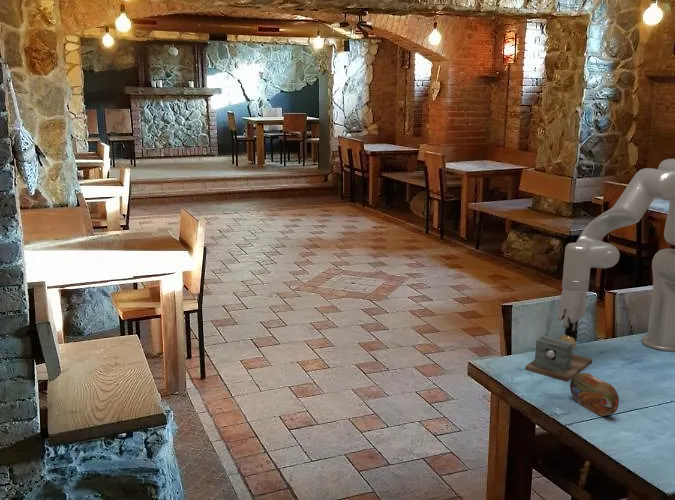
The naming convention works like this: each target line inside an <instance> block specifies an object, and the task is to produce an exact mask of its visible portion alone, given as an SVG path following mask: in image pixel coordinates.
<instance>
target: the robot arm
mask: <svg viewBox="0 0 675 500" xmlns="http://www.w3.org/2000/svg"><path fill="white" fill-rule="evenodd" d="M655 199H659V200H663V201H669V206H668V210H667V216H666V220H665V225H664V231H663V237H664V240H665V241H666V242H667V243H668V244H670V245H673V246H675V158H668V159H664V160H661V162H660V163H659V165H658V167H657V168H653V167H652V168H651V167H649V168H647V167H645V168H641V169H639V170H638V171H637V172H636V173H635V174H634V175H633V177H632V178H631V180H630V182H629V183H628V184H627V186H626V188H625V189H624V191H623V192H622V194H621V195H620V196H619V198H618V199H617V201H616V202H615V204H614V205H613V206H612V207H611V208H610V209H608V210H606V211H604V212H602V213H601V214H600V215H597V217H595V218H593V220H591V221H590V222H589V223H588V224H587V225H586V226H585V228H584V229H583V230H582V232H581V233H580V235H579V236H578V238H577V240H576V242H569V243H568V244H566V245H565V249H564V260H563V270H562V271H563V273H562V284H561V288H562V291H561V295H560V299H559V304H558V305H559V306H558V314H557V320H558V321H560V322H561V321H563V323H562V327H564V329H565V330H564V335H570V336H572V337H573V338H574V339H575V341H576V342H577V340H578V329H579V324H580V320H581V319H582V318H584V317H585V315H586V312H587V311H586V308H587V292H588V291H589V287H590V276H591V268H593V269H594V268H595V269H609V268H613V267H614V266H615V265H617V264H618V262H619V260H620V256H621V254H620V251H619V249H618V248H617V247H616V246H615V245H613V244H611V243H609V242H604V241H602V240H603V238H604V237H605V236H607V234H609V233H610V232H612V231H614V230H617V229H620V228H623V227H624V228H625V227H628V226H632V225H635V224H637V223H639V222H640V221H641V219H642V217H643V216H644V214H645V213H646V211H647V210H648V209H649V207H650V206H651V204H652V203H653V202H654V201H655ZM651 271H652V279H653V280H652V291H651V292H652V294H651V299H650V310H649V317H648V324H647V325H648V327H647V328H648V329H647V334H644V335H643V336H642V337H641V343H642V344H643V345H645V346H646V347H649V348H652V349H654V350H659V351H665V352H675V248H663V249H659V251H657V252H656V253H655V254H654V256H653V258H652V260H651Z"/></svg>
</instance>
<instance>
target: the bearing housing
mask: <svg viewBox="0 0 675 500" xmlns="http://www.w3.org/2000/svg"><path fill="white" fill-rule="evenodd" d="M573 345H574V343H571V342H567V341H563V340H559V338H555V337H551V336H547V335H542V336H541V337H539V338H538V339H536V341H535V351H534V353H535V354H534V359H533V360H532V361H531V362H529V363H528V364H527V363H526V365H525V367H524V368H525V371H529V372H532V373H535V374H539V375H543V376H546V377H549V378H552V379H556V380H560V381H563V382H566V383H568V382H569V381H571V379H572V377H573V376H574V375H575V374H577V373H582V372H583V371H584V370H585V369H586V368H587V367H588V365H589V364H590V363H591V364H593V359H592V358H589V357H587V356H582V355H579V354H574V349H573ZM550 349H552V350H556V356H555V357H553V358H552V359H548V358H547V357H546V355H545V354H546V352H547V351H548V350H550ZM591 364H590V365H591ZM590 365H589V366H590ZM584 368H585V369H584Z"/></svg>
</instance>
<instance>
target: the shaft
mask: <svg viewBox="0 0 675 500" xmlns="http://www.w3.org/2000/svg"><path fill="white" fill-rule="evenodd" d="M558 339H559V340H563V341H567V342H571V343H574V345H573V350H574V349H575V348H576V346H577V343H576V342H577V341H575V339H574V338H573V337H572V336H570V335H565V334H563V335H561V336H560V337H559V338H558ZM545 355H546V357H547V358H548V359H552V358H553V357H555V356H556V350H552V349H550V350H548V351H547V352H546V354H545Z"/></svg>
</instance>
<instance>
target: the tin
mask: <svg viewBox="0 0 675 500" xmlns="http://www.w3.org/2000/svg"><path fill="white" fill-rule="evenodd" d="M569 381H570V382H569V389H570V393H571V396H572V397H573V399H574V401H575V402H576V403H577V404H579V405H580V406H582V407H584V408H586V409H587V410H589V411H591V412H593V413H594V414H596V415H598V416H601V417H607V416H612V415H613V414H615V413H616V412H617V411H618V408H619V401H620V398H619V397H620V396H619V393H618V391H617V390H616V389H615V387H614V386H613V385H612V384H611V383H608V382H606V381H605V380H603V379H600V378H598V376H597V377H596V376H595V375H593V374H590V373H587V372H580V373H577V374H575V375H574V376H573V377H572V379H571V380H569Z"/></svg>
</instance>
